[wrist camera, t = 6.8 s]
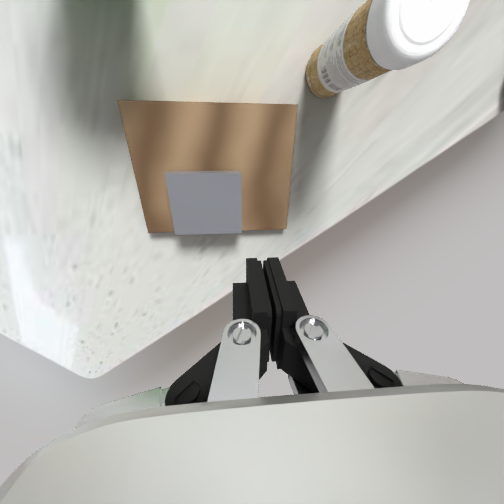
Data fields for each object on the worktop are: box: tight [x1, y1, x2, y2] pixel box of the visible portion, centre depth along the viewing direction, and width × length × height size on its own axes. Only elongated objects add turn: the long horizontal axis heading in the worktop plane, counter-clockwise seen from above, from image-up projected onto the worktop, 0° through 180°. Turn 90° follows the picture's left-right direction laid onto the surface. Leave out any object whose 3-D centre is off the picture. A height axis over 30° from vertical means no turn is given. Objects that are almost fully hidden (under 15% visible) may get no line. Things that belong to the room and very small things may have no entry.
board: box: [118, 100, 298, 233], centre depth 26 cm, size 18×14×1 cm
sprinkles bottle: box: [306, 0, 470, 98], centre depth 17 cm, size 5×5×13 cm
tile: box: [165, 171, 242, 235], centre depth 26 cm, size 2×7×8 cm
